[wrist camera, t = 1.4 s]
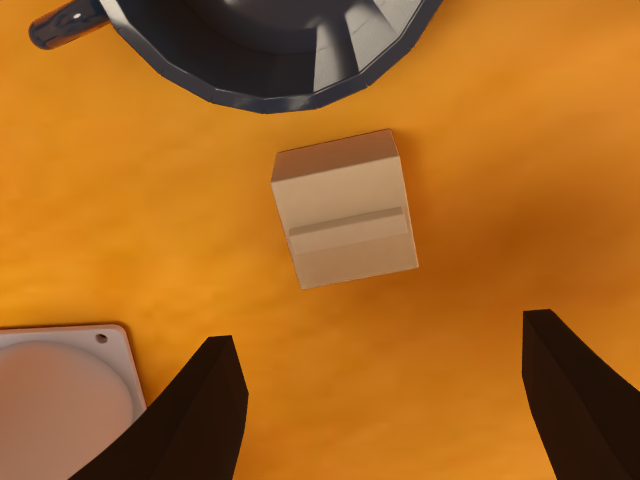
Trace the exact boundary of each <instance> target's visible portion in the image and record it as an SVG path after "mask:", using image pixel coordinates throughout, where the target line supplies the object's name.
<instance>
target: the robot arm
mask: <svg viewBox="0 0 640 480" xmlns="http://www.w3.org/2000/svg"><path fill="white" fill-rule="evenodd" d="M99 334H103V335H105V336H106V337H107V338H102V337H101V336H100V335H99ZM522 378H523V382H524V386H525V390H526V394H527V398H528V402H529V406H530V409H531V413H532V416H533V419H534V421H535V424H536V427H537V429H538V432H539V434H540V437H541V440H542V442H543V445H544V447H545V450H546V452H547V455H548V457H549V460H550V462H551V465H552V468H553V470H554V473H555V475H556V478H557V480H640V392H639V391H638V390H637V389H636V388H634V387H633V386H632V385H631V384H629V383H628V382H627V381H626V380H625V379H623V378H622V377H621V376H620V375H619V374H618V373H616V372H615V371H614V370H613V369H612V368H611V367H610V366H609V365H607V364H606V363H605V362H604V361H603V360H602V359H601V358H600V357H599V356H597V355H596V354H595V353H594V352H593V351H592V350H591V349H590V348H589V347H588V346H587V345H586V344H585V343H584V342H583V341H582V340H581V339H580V338H579V337H578V336H577V335H576V334H575V333H574V332H573V331H572V330H571V329H570V328H569V327H568V326H567V325H566V324H565V323H564V322H563V321H562V320H561V319H560V318H559V317H558V316H557V315H556V314H555V313H554V312H553V311H552V310H551V309H544V310H532V311H523V348H522ZM248 396H249V393H248V390H247V386H246V383H245V380H244V376H243V373H242V369H241V366H240V363H239V359H238V356H237V352H236V349H235V346H234V342H233V339H232V335H227V336H215V337H208V338H207V339H206V341H205V342H204V343H203V344H202V345H201V346H200V348H199V349H198V350H197V351H196V353H195V354H194V355H193V356H192V357H191V359H190V360H189V361H188V362H187V363H186V365H185V366H184V367H183V368H182V370H181V371H180V372H179V373H178V374H177V376H176V377H175V378H174V379H173V380H172V381H171V383H170V384H169V385H168V386H167V387H166V388H165V390H164V391H163V392H162V393H161V394H160V395H159V397H158V398H157V399H156V400H155V401H154V402H153V403H152V404H151V405H150V406H149V407H148V408H147V407H146V403H145V400H144V396H143V393H142V389H141V385H140V382H139V378H138V374H137V371H136V367H135V364H134V360H133V356H132V353H131V349H130V345H129V342H128V338H127V335H126V332H125V330H124V329H123V328H122V327H121V326H119V325H115V324H106V325H87V326H68V327H48V328H29V329H9V330H0V480H232V478H233V474H234V470H235V466H236V462H237V458H238V454H239V450H240V446H241V442H242V438H243V434H244V429H245V422H246V414H247V405H248Z"/></svg>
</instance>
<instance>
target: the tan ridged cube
mask: <svg viewBox="0 0 640 480" xmlns="http://www.w3.org/2000/svg"><path fill="white" fill-rule="evenodd" d="M270 185H271V188H272V192H273V195H274V198H275V202H276V205H277V209H278V212H279V216H280V219H281V223H282V226H283V230H284V233H285V237H286V240H287V244H288V247H289V251H290V254H291V257H292V261H293V264H294V268H295V271H296V275H297V278H298V282H299V285H300V288H301V290H304V289H310V288H315V287H320V286H325V285H331V284H336V283H341V282H347V281H352V280H357V279H362V278H368V277H373V276H378V275H384V274H389V273H394V272H399V271H405V270H410V269H415V268H418V266H419V265H418V259H417V254H416V248H415V242H414V236H413V230H412V225H411V219H410V213H409V207H408V201H407V195H406V190H405V184H404V178H403V172H402V166H401V161H400V156H399V153H398V150H397V147H396V144H395V141H394V138H393V135H392V132H391V130H390V129H387V130H382V131H377V132H373V133H368V134H364V135H359V136H354V137H350V138H345V139H341V140H336V141H331V142H327V143H322V144H317V145H313V146H308V147H304V148H299V149H294V150H290V151H285V152H280V153H277V155H276V160H275V164H274V169H273V174H272V178H271V183H270Z"/></svg>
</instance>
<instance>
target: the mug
mask: <svg viewBox="0 0 640 480" xmlns="http://www.w3.org/2000/svg"><path fill="white" fill-rule="evenodd" d="M442 2H443V0H73V1H71V2H69V3H67V4H65V5H63V6H61V7H59V8H57V9H55V10H53V11H51V12H50V13H48V14H46V15H44V16H42V17H40V18H38V19H36V20H35V21H33V22H32V23H31V24H30V26H29V30H28V34H29V38H30V40H31V41H32V43H33V44H34V45H35V46H36V47H38V48H40V49H43V50H52V49H54V48H57V47H59V46H61V45H64V44H66V43H68V42H70V41H73V40H75V39H77V38H80V37H82V36H84V35H86V34H89V33H91V32H93V31H96V30H98V29H100V28H102V27H104V26H106V25H108V24H110V23H111V24H112V25H113V27H114V29H115V30H116V31H117V32H118V34H119V35H120V36H121V37H122V38H123V39H124V40H125V41H126V42H127V43H128V44H129V45H130V46H131V47H132V48H133V49H134V50H135V51H136V52H137V53H138V54H139V55H140V56H141V57H142V58H143V59H144V60H145V61H146V62H147V63H148V64H149V65H150V66H151V67H152V68H153V69H154V70H155V71H156V72H157V73H158V74H161V76H162V77H164V78H166V79H168V80H170V81H171V82H173V83H175V84H177V85H179V86H181V87H182V88H184V89H186V90H188V91H190V92H191V93H193V94H195V95H197V96H199V97H200V98H202V99H204V100H206V101H208V102H211V103H213V104H218V105H222V106H227V107H232V108H236V109H241V110H246V111H251V112H255V113H260V114H264V113H265V114H274V113H284V112H294V111H304V110H314V109H317V108H322V107H324V106H326V105H329V104H331V103H333V102H336V101H338V100H340V99H342V98H345V97H347V96H349V95H352V94H354V93H356V92H359V91H361V90H363V89H365V88H367V87H368V86H370V85H372V84H373V83H374V82H375V81H376V80H377V79H379V78H380V77H381V76H382V75H383V74H384V73H385V72H387V71H388V70H389V69H390V68H391V67H392V66H394V65H395V64H396V63H397V62H398V61H399V60H400V59H402V58H403V57H404V56H405V55H406V54H407V53H408V52H410V51H411V49H412V48H413V47H414V46H415V44H416V43H417V41H418V40H419V38H420V36H421V35H422V33H423V32H424V30H425V29H426V27H427V25H428V24H429V22H430V21H431V19H432V17H433V16H434V14H435V13H436V11H437V10H438V8H439V6H440V5H441V3H442Z"/></svg>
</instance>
